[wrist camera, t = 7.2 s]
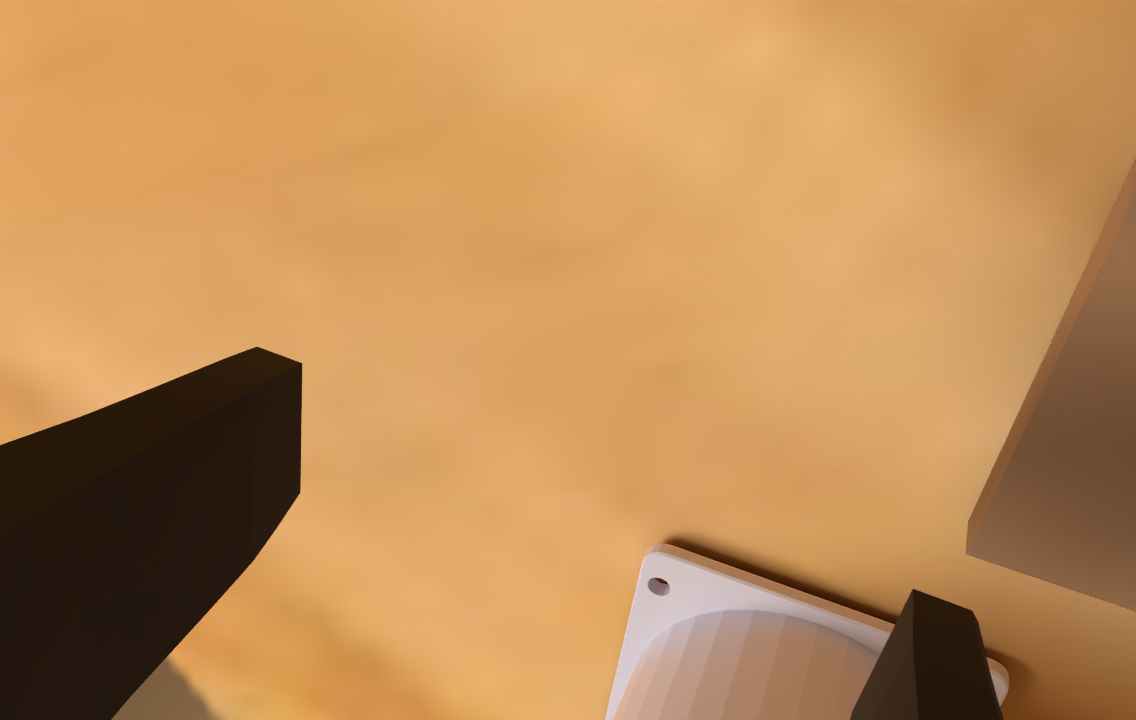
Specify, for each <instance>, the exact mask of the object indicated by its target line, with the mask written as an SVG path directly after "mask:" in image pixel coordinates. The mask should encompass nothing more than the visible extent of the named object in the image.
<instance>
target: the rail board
mask: <svg viewBox="0 0 1136 720" xmlns="http://www.w3.org/2000/svg"><path fill="white" fill-rule="evenodd" d="M966 554H967V555H970V556H973V557H976V558H979V559H982V560H985V561H988V562H991V563H994V564H997V565H1000V566H1003V567H1006V568H1009V569H1012V570H1015V571H1018V572H1021V573H1023V574H1026V575H1029V576H1032V577H1035V578H1038V579H1041V580H1044V581H1047V582H1050V583H1053V584H1056V585H1059V586H1062V587H1065V588H1068V589H1071V590H1074V591H1077V592H1080V593H1083V594H1086V595H1089V596H1092V597H1095V598H1098V599H1101V600H1104V601H1107V602H1110V603H1113V604H1116V605H1119V606H1121V607H1124V608H1127V609H1130V610H1133V611H1136V160H1135V162H1134V165H1133V167H1132V169H1131V171H1130V173H1129V175H1128V178H1127V180H1126V182H1125V184H1124V186H1123V188H1122V190H1121V193H1120V195H1119V197H1118V199H1117V201H1116V203H1115V206H1114V208H1113V210H1112V212H1111V214H1110V216H1109V219H1108V221H1107V223H1106V225H1105V227H1104V229H1103V232H1102V234H1101V236H1100V238H1099V240H1098V242H1097V245H1096V247H1095V249H1094V251H1093V253H1092V255H1091V258H1090V260H1089V262H1088V264H1087V266H1086V268H1085V270H1084V273H1083V275H1082V277H1081V279H1080V281H1079V283H1078V286H1077V288H1076V290H1075V292H1074V294H1073V296H1072V299H1071V301H1070V303H1069V305H1068V307H1067V309H1066V312H1065V314H1064V316H1063V318H1062V320H1061V322H1060V325H1059V327H1058V329H1057V331H1056V333H1055V335H1054V337H1053V340H1052V342H1051V344H1050V346H1049V348H1048V350H1047V353H1046V355H1045V357H1044V359H1043V361H1042V363H1041V366H1040V368H1039V370H1038V372H1037V374H1036V376H1035V379H1034V381H1033V383H1032V385H1031V387H1030V389H1029V392H1028V394H1027V396H1026V398H1025V400H1024V402H1023V405H1022V407H1021V409H1020V411H1019V413H1018V415H1017V417H1016V420H1015V422H1014V424H1013V426H1012V428H1011V430H1010V433H1009V435H1008V437H1007V439H1006V441H1005V443H1004V446H1003V448H1002V450H1001V452H1000V454H999V456H998V459H997V461H996V463H995V465H994V467H993V469H992V472H991V474H990V476H989V478H988V480H987V482H986V485H985V487H984V489H983V491H982V493H981V495H980V497H979V500H978V502H977V504H976V506H975V508H974V510H973V513H972V515H971V517H970V519H969V521H968V531H967V543H966Z"/></svg>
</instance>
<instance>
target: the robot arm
mask: <svg viewBox="0 0 1136 720" xmlns="http://www.w3.org/2000/svg"><path fill="white" fill-rule="evenodd" d="M301 409H302V363H300V362H297V361H294V360H292V359H289V358H286V357H284V356H281V355H278V354H275V353H273V352H270V351H267V350H265V349H262V348H259V347H255V348H252V349H250V350H247V351H244V352H241V353H238V354H236V355H233V356H231V357H228V358H225V359H223V360H220V361H218V362H215V363H213V364H210V365H208V366H206V367H203V368H201V369H198V370H196V371H193V372H191V373H188V374H186V375H184V376H181V377H179V378H176V379H174V380H171V381H169V382H167V383H164V384H162V385H159V386H157V387H154V388H152V389H149V390H147V391H144V392H142V393H139V394H137V395H134V396H132V397H129V398H127V399H124V400H122V401H119V402H117V403H114V404H112V405H109V406H107V407H104V408H102V409H99V410H97V411H94V412H92V413H89V414H86V415H84V416H81V417H78V418H76V419H73V420H70V421H67V422H64V423H62V424H59V425H56V426H53V427H50V428H47V429H45V430H42V431H39V432H36V433H33V434H30V435H28V436H25V437H22V438H19V439H16V440H14V441H11V442H8V443H5V444H2V445H0V720H111V719H112V718H113V717H114V715H115V714H116V713H117V712H118V711H119V709H120V708H121V707H122V706H123V705H124V704H125V702H126V701H127V700H128V699H129V698H130V697H131V695H132V694H133V693H134V692H135V691H136V690H137V689H138V688H139V687H140V686H141V684H142V683H143V682H144V681H145V680H146V679H147V678H148V677H149V676H150V675H151V674H152V672H153V671H154V670H155V669H156V668H157V667H158V666H159V665H160V664H161V663H162V662H163V660H164V659H165V658H166V657H167V656H168V655H169V654H170V653H171V652H172V651H173V649H174V648H175V647H176V646H177V645H178V644H179V643H180V642H181V641H182V640H183V638H184V637H185V636H186V635H187V634H188V633H189V632H190V631H191V630H192V629H193V628H194V626H195V625H196V624H197V623H198V622H199V621H200V620H201V619H202V618H203V617H204V615H205V614H206V613H207V612H208V611H209V610H210V609H211V608H212V607H213V606H214V604H215V603H216V602H217V601H218V600H219V599H220V598H221V597H222V595H223V594H224V593H225V592H226V591H227V590H228V589H229V588H230V587H231V585H232V584H233V583H234V582H235V581H236V580H237V579H238V578H239V576H240V575H241V574H242V573H243V572H244V571H245V570H246V568H247V567H248V566H249V565H250V564H251V563H252V562H253V560H254V559H255V558H256V556H257V555H258V554H259V552H260V551H261V549H262V548H263V547H264V545H265V544H266V542H267V541H268V539H269V538H270V537H271V535H272V534H273V532H274V531H275V530H276V528H277V527H278V525H279V524H280V522H281V521H282V519H283V518H284V516H285V515H286V513H287V512H288V510H289V509H290V507H291V506H292V504H293V503H294V501H295V500H296V498H297V497H298V495H299V494H300V478H301ZM655 577H656V578H661V579H663V580H665V581H666V582H667V583H668V584H662V583H660V582H658V581H657V580H656V579H655ZM1008 689H1009V675H1008V672H1007V670H1006V669H1005V668H1004V667H1003V666H1002V665H1001V664H1000V663H999V662H997V661H995V660H993V659H990V658H988V657H986V653H985V649H984V645H983V641H982V636H981V632H980V628H979V623H978V621H977V619H976V617H975V615H974V613H973V611H972V610H969V609H966V608H963V607H961V606H958V605H955V604H953V603H950V602H947V601H944V600H942V599H939V598H936V597H934V596H931V595H928V594H926V593H923V592H920V591H917V590H915V589H913V590H912V592H911V594H910V596H909V598H908V600H907V602H906V604H905V606H904V608H903V610H902V612H901V614H900V616H899V618H898V620H897V622H896V624H892V623H889V622H886V621H884V620H881V619H878V618H875V617H872V616H870V615H867V614H864V613H861V612H858V611H856V610H853V609H850V608H847V607H844V606H842V605H839V604H836V603H833V602H830V601H828V600H825V599H822V598H819V597H816V596H813V595H811V594H808V593H805V592H802V591H799V590H797V589H794V588H791V587H788V586H785V585H783V584H780V583H777V582H774V581H771V580H769V579H766V578H763V577H760V576H757V575H754V574H752V573H749V572H746V571H743V570H740V569H738V568H735V567H732V566H729V565H726V564H724V563H721V562H718V561H715V560H712V559H710V558H707V557H704V556H701V555H698V554H696V553H693V552H690V551H687V550H684V549H681V548H679V547H676V546H673V545H669V544H664V543H660V544H655V545H653V546H651V547H650V548H649V549H648V551H647V553H646V555H645V557H644V559H643V561H642V565H641V569H640V573H639V577H638V582H637V586H636V590H635V594H634V598H633V603H632V607H631V611H630V615H629V620H628V624H627V628H626V632H625V637H624V641H623V645H622V649H621V653H620V658H619V662H618V666H617V670H616V675H615V679H614V683H613V687H612V691H611V696H610V700H609V704H608V708H607V713H606V717H605V720H1004V719H1003V716H1002V713H1001V709H1000V706H1001V705H1002V703H1003V701H1004V699H1005V697H1006V696H1007V693H1008Z"/></svg>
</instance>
